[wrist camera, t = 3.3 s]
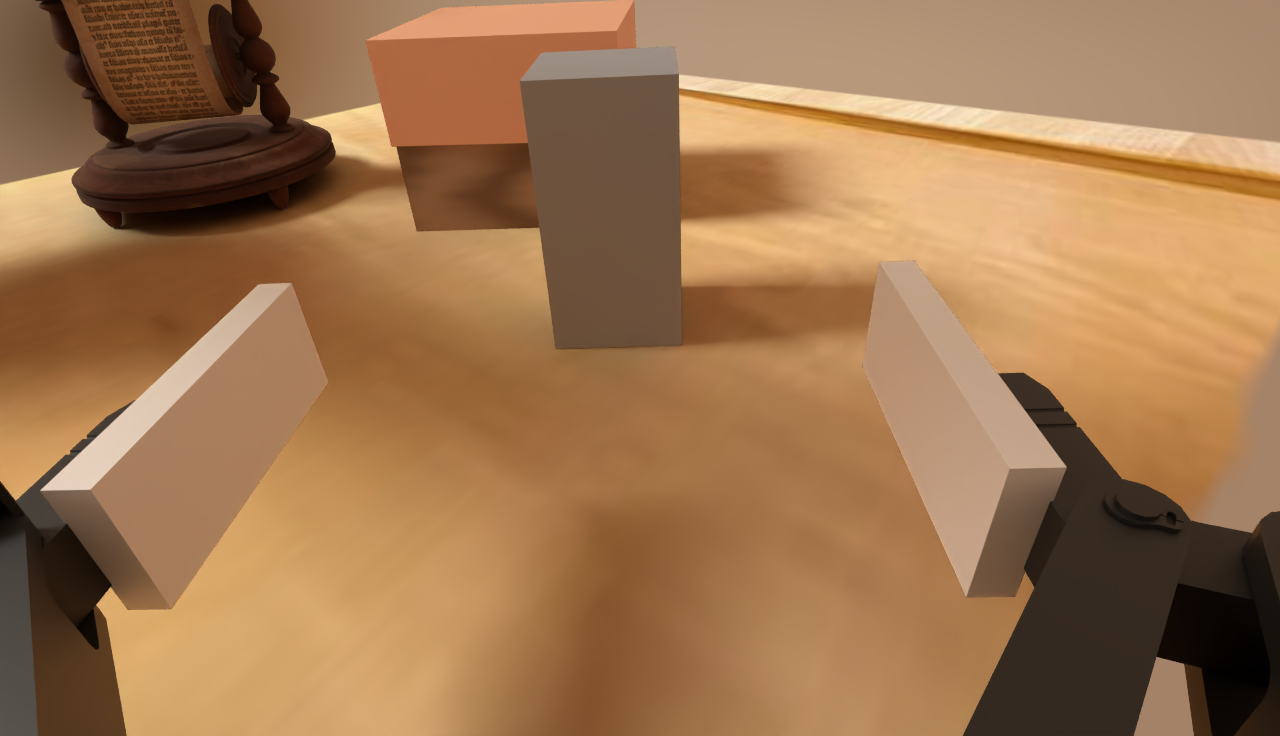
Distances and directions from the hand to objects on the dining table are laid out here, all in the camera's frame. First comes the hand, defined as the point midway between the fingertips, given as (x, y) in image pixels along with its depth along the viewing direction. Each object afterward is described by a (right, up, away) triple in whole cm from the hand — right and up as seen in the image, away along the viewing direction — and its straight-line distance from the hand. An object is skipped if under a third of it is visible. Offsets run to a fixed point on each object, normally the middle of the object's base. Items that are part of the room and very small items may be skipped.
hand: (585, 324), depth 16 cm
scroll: (-26, +10, +29) cm, 41 cm away
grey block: (0, +1, +13) cm, 13 cm away
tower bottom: (-5, +10, +27) cm, 29 cm away
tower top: (-5, +14, +24) cm, 28 cm away
